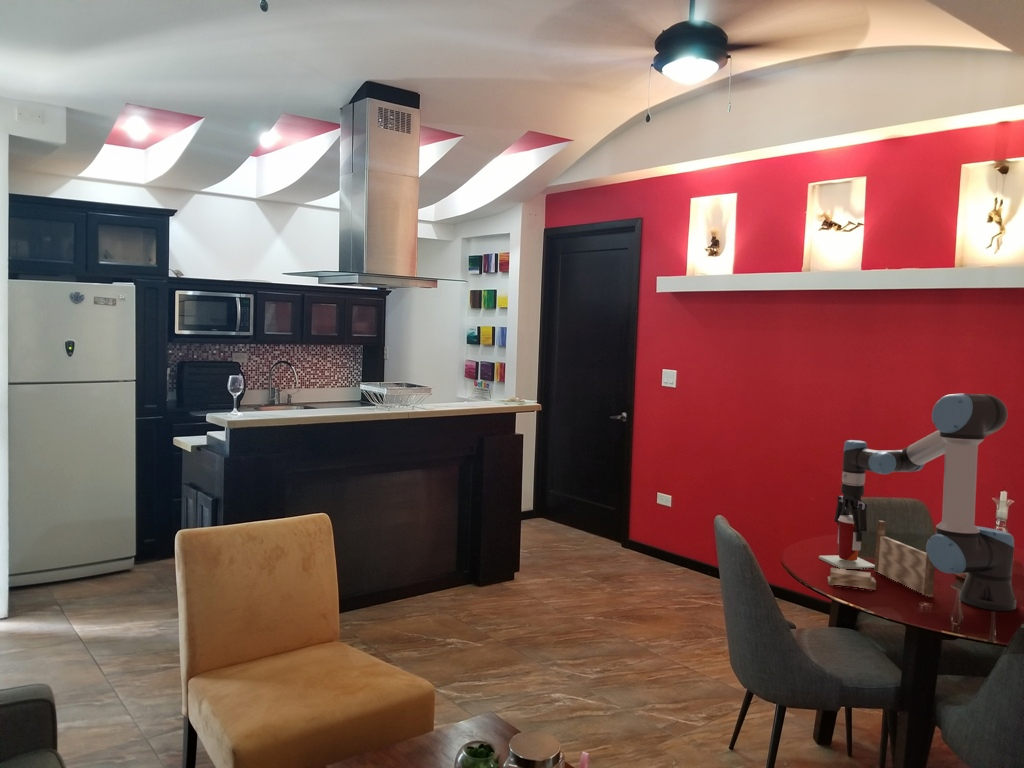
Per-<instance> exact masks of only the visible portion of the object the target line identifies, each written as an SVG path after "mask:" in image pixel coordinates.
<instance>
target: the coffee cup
mask: <svg viewBox="0 0 1024 768" xmlns="http://www.w3.org/2000/svg"><path fill="white" fill-rule="evenodd" d="M838 520H839V544H838V555H839V558H840V559H843V560H848V561H856V560H857V557H859V556H858V555H859V550H852V548H853V532H854V531H855V527H854V521H853V516H852V514H849V515H840V516H839V518H838ZM858 529H859V528H858Z"/></svg>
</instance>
